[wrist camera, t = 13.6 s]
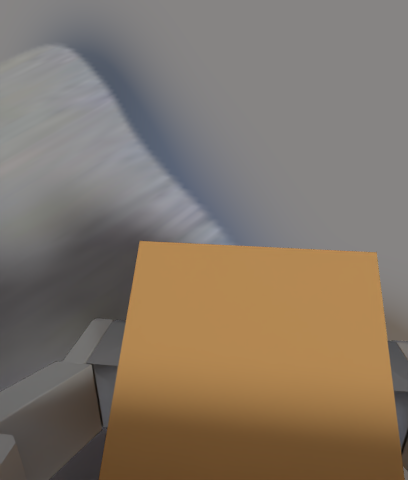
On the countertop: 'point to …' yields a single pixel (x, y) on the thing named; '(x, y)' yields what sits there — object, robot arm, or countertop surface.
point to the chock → (253, 368)
